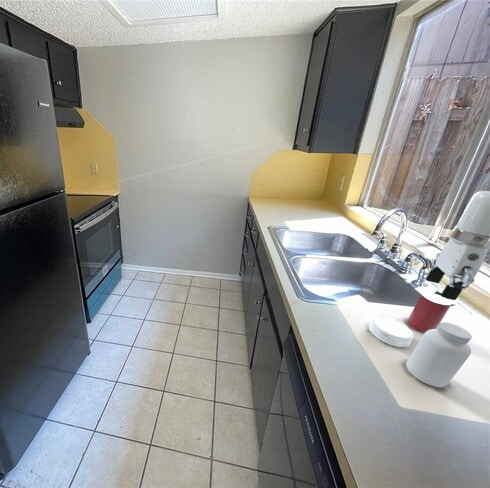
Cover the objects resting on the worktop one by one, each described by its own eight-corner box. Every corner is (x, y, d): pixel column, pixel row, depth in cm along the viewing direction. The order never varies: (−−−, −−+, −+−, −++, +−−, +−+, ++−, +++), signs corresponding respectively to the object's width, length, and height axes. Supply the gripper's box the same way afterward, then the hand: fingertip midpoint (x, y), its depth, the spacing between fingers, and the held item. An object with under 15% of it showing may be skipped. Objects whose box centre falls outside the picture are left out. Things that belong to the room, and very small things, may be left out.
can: (428, 323, 84) (445, 295, 80) (438, 336, 79) (456, 307, 74) (403, 317, 87) (418, 290, 82) (411, 329, 81) (427, 301, 77)
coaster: (415, 352, 72) (421, 343, 71) (373, 341, 76) (378, 332, 74) (401, 329, 81) (406, 320, 80) (364, 320, 84) (368, 311, 83)
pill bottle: (437, 393, 61) (471, 346, 55) (398, 367, 68) (424, 322, 61) (453, 382, 64) (487, 336, 58) (415, 358, 71) (441, 314, 64)
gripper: (513, 253, 61) (472, 310, 69) (471, 230, 76) (441, 279, 83) (471, 246, 64) (436, 301, 71) (438, 225, 79) (412, 273, 86)
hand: (439, 289), depth 77 cm, fingers open, 9 cm apart
